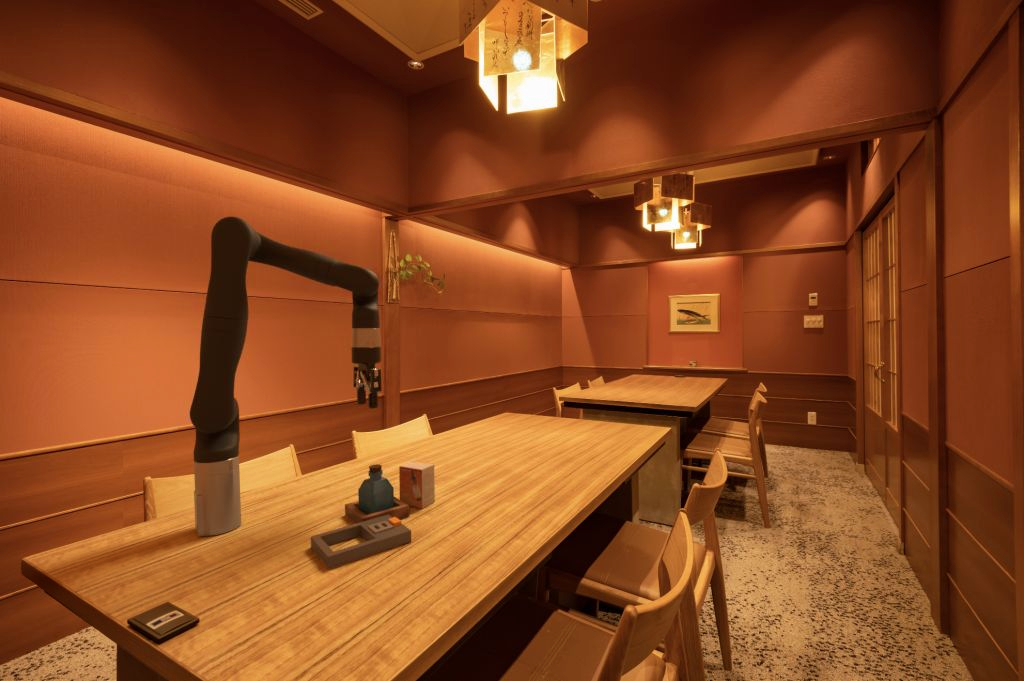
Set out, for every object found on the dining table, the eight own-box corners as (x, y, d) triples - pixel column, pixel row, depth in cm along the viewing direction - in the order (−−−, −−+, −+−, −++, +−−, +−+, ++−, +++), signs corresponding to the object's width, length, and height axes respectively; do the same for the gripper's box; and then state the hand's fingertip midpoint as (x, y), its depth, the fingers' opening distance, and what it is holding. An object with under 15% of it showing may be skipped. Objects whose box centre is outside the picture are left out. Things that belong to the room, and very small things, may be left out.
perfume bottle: (373, 519, 113) (372, 471, 113) (358, 513, 117) (357, 467, 117) (394, 511, 118) (392, 465, 118) (379, 506, 122) (378, 461, 121)
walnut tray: (362, 530, 109) (362, 518, 109) (345, 515, 118) (344, 504, 118) (409, 516, 117) (408, 505, 116) (389, 503, 126) (388, 493, 126)
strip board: (328, 569, 91) (328, 552, 91) (311, 547, 101) (310, 532, 100) (411, 541, 103) (410, 526, 103) (388, 524, 112) (388, 511, 112)
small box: (399, 504, 125) (398, 465, 125) (412, 497, 130) (411, 460, 130) (422, 509, 121) (421, 469, 121) (435, 501, 126) (434, 463, 126)
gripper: (343, 345, 126) (344, 404, 126) (361, 346, 115) (362, 411, 115) (370, 344, 130) (371, 401, 131) (390, 345, 119) (391, 407, 119)
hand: (367, 406), depth 123 cm, fingers open, 8 cm apart
